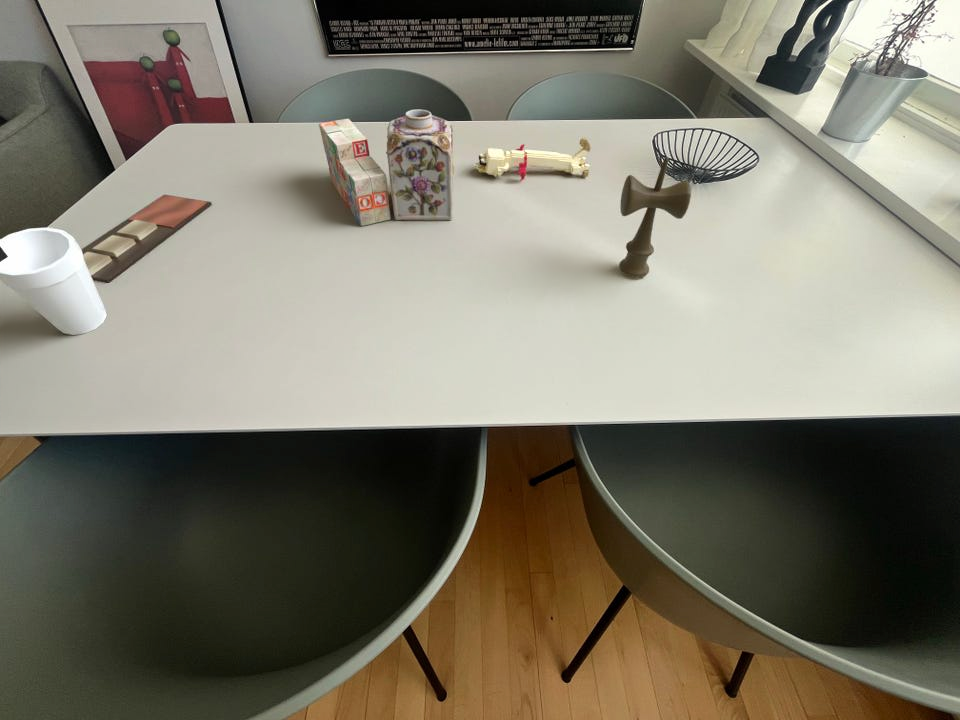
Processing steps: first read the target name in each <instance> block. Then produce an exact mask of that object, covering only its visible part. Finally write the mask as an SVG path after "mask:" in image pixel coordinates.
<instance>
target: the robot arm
mask: <svg viewBox="0 0 960 720" xmlns="http://www.w3.org/2000/svg"><path fill="white" fill-rule="evenodd" d="M7 257H8V256H7V254H6V253H5V252H4V251H3V249H2V248H1V247H0V262H1V261H2V260H4V259H6V258H7Z"/></svg>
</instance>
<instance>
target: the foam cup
mask: <svg viewBox="0 0 960 720" xmlns="http://www.w3.org/2000/svg"><path fill="white" fill-rule="evenodd" d="M0 247H1V248H2V249H3V251H4V252H5V253H6V254H7V256H8V257H7V258H6V259H4V260H2V261H1V262H0V282H1V283H3V284H4V285H5V286H6V287H9V288H10V289H11V290H13V291H14V292H15V293H16V294H17V295H19V297H21V298H22V299H23V300H24V301H25V302H26V303H27V304H28V305H30V306H31V307H32V308H33V309H34V310H36V312H38V313H39V315H41V316H42V317H43V318H45V319H46V320H47V321H48V322H49V323H50V324H51V325H52V326H54V327H55V328H56V329H57V330H58V331H60V332H61V333H62V334H65V335H70V336H71V335H72V336H76V335H84V334H87V333H89V332H92V331H95V330H96V329H97V328H99V327H100V326H102V325H103V324H104V323H105V321H106V318H107V316H108V315H107V310H106V309H105V305H104V303H103V301H102V298H101V296H100V293H99V291H98V289H97V287H96V284H95V282H94V280H93V279H92V277H91V275H90V273H89V270H88V268H87V266H86V263H85V261H84V258H83V253H82V250H81V249H82V248H81V247H80V245H79V244H78V242H77V241H76V239H75V237H73V236H72V235H71V234H69V232H66V231H65V230H63V229H59V228H52V227H48V226H47V227H35V228H26V229H23V230H22V229H21V230H19V231H16V232H13V233H8V234H7V235H6V236H4V237H2V238H0Z"/></svg>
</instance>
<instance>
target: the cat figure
mask: <svg viewBox="0 0 960 720" xmlns="http://www.w3.org/2000/svg"><path fill="white" fill-rule="evenodd" d="M525 145H526V144H525V143H523V144H521V145H520V146H519V148H515V149H510V150H505V151H504V150H503V149H501V148H491V147H489V148H486V150H485V153H480V154H479V155H478V162H476V163H475V169H477V171H478V172H479V173H486V174H487V175H491V176H493V177H494V178H495V177H496V178H497V177H499V178H501V177H502V174H504V172H507V171H508V170H509V169H514V168H518V173H517V174H518V176H521V177H520V178H521V180H524V179H525V177H526V176H527V169H528V168H529V167H530V168H542V169H551V170H552V171H564V173H570V175H578V174H579V173H582V174H581V177H582V178H583V177H589V174H590V173H589V171H590V164H589V163H586V162H587V157H586V156H585V155H587V154H588V153H589V152H591V149H592V148H591V144H590V141H588V139H587V138H586V137H582V138H581V139H579V146H580V147H581V148H580V150H578V151H576V152H575V153H574V154H573V155H572V154H568V153H567V154H566V153H559V152H557V151H546V150H535V149H534V150H532V149H525V148H524V147H525ZM523 149H524V150H523ZM519 168H520V169H519Z"/></svg>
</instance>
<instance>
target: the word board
mask: <svg viewBox="0 0 960 720" xmlns="http://www.w3.org/2000/svg"><path fill="white" fill-rule="evenodd" d="M212 205H213V203H212V201H209V200H202V199H201V200H200V199H195V198H189V197H183V196H177V195H176V196H175V195H171V194H163V195H161V196H159V197H158V198H157V199H155V200H154V201H152V202H151V203H149V204H148V205H146V206H144V207H143V208H142V209H140V210H139V211H137V212H136V213H134V214H133V215H131V216H129V217H128V218H127V219H125V220H123V221H122V222H120V223H119V224H117V225H116V226H114V227H113V228H111V229H110V230H108V231H107V232H105V233H104V234H102V235H101V236H99V237H98V238H96V239H95V240H93V241H92V242H91V243H89V244H87V245H86V246H84V247H83V248H80V249H81V250H82V253H83V258H84V261H85V263H86V266H87V268H88V270H89V273H90V275H91V277H92V279H93V281H98V282H103V283H107V284H110V283H111V282H112V281H113V280H115V279H116V278H118V277H119V276H120V275H121V274H123V273H125V271H127V270H128V269H130V268H131V267H132V266H133V265H134V264H136V263H138V262H139V261H140V260H141V259H142V258H144V257H145V256H147V255H148V254H149V253H151V252H152V251H153V250H154V249H155V248H157V247H158V246H160V245H161V244H163V243H164V242H165V241H167V240H168V239H169V238H170V237H172V236H173V235H174V234H175V233H177V232H178V231H179V230H181V229H182V228H183V227H184V226H186V225H187V224H189V223H190V222H191V221H193V220H194V219H195V218H197V217H198V216H199V215H201V214H202V213H204V211H206V210H207V209H208V208H210V207H211V206H212Z"/></svg>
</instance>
